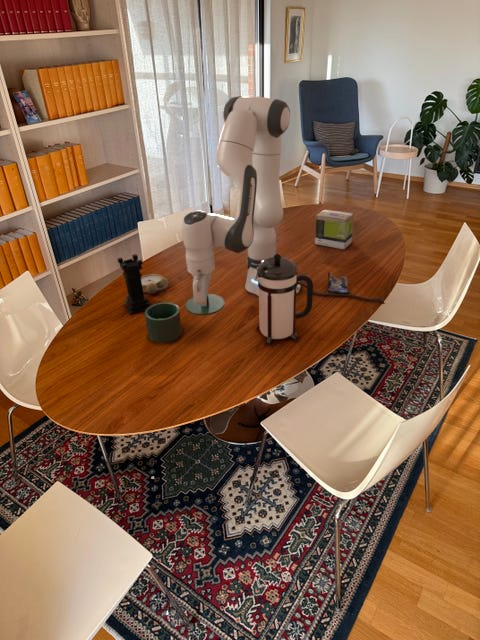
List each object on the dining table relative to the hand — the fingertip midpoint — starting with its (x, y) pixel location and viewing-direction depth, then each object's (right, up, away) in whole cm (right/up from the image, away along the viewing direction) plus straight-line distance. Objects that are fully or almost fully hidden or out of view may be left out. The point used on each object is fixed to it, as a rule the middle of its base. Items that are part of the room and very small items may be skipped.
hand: (205, 302), depth 154 cm
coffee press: (+25, -11, +8) cm, 29 cm away
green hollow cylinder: (-15, -11, +10) cm, 21 cm away
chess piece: (-28, -1, +27) cm, 38 cm away
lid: (0, -1, +1) cm, 1 cm away
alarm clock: (-24, +7, +39) cm, 46 cm away
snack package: (+51, +6, +33) cm, 60 cm away
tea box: (+56, +31, +70) cm, 95 cm away
